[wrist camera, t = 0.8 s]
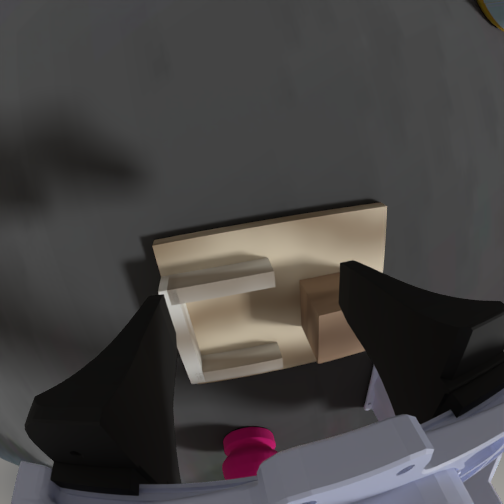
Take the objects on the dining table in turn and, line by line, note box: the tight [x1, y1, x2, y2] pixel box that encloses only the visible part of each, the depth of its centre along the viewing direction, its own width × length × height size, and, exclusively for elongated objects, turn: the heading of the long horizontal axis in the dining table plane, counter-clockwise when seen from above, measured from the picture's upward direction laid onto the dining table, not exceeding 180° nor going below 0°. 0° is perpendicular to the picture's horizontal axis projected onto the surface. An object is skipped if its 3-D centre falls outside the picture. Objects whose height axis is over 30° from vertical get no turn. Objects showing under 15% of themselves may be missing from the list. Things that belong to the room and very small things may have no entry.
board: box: [152, 202, 387, 384], centre depth 23 cm, size 14×17×3 cm
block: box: [299, 272, 365, 364], centre depth 22 cm, size 4×4×4 cm
